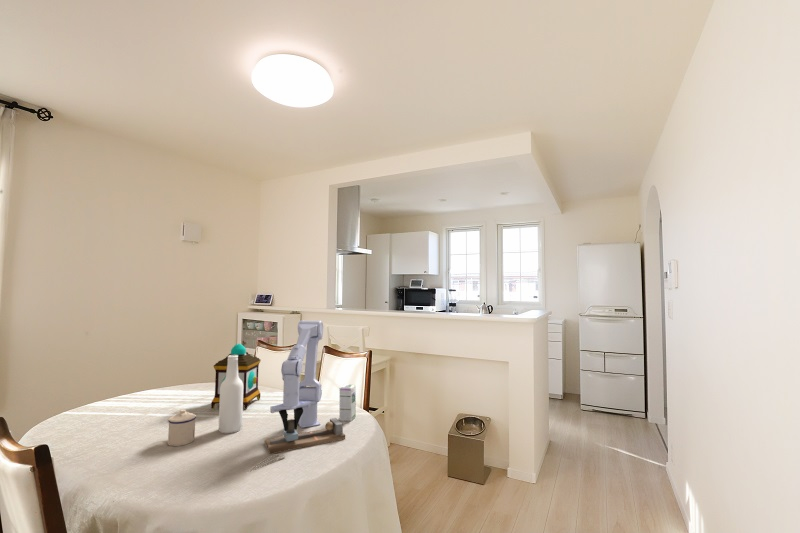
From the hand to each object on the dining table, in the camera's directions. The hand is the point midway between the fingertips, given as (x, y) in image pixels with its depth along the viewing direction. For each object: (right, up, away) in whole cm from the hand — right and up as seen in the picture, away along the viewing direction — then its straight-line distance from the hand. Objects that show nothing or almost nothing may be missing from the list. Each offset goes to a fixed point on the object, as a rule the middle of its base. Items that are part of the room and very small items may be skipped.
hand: (290, 429), depth 140 cm
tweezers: (-5, -5, -18) cm, 19 cm away
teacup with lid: (-43, -6, +2) cm, 43 cm away
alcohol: (-28, -6, +13) cm, 32 cm away
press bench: (+5, -6, +2) cm, 8 cm away
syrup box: (+17, -8, +28) cm, 33 cm away
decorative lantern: (-41, -8, +48) cm, 63 cm away
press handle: (0, -3, 0) cm, 3 cm away
